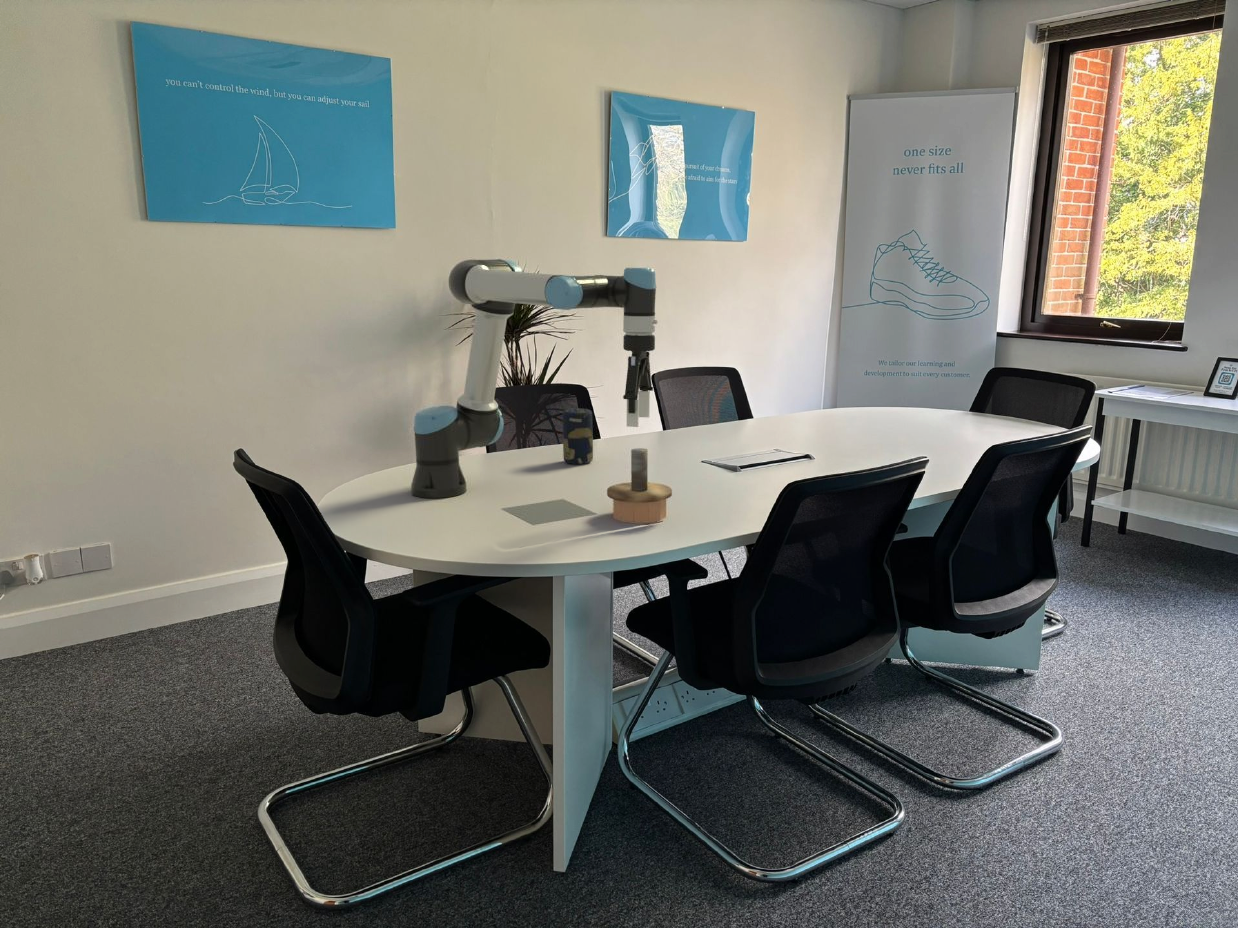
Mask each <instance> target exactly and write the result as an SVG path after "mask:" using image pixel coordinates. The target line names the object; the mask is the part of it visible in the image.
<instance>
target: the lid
mask: <svg viewBox="0 0 1238 928" xmlns="http://www.w3.org/2000/svg"><path fill="white" fill-rule="evenodd" d="M630 451H631V452H630V455H631V456H630V459H631V460H630V461H631V462H630V468H631V469H630V470H631V471H630V474H631V475H630V477H631V479H630V480H631V481H630V482H624V483H623V482H622V483H617V484H614V485H611V486H608V487H607V489H606V495H607V497H608V498H609V499H611V500H613V499H614V500H618V501H624V502H638V503H642V502H655V501H661V500H665V499H666V500H667V499H669V498H671V497H672V496H673V488H671V487H670V486H669V485H666V484H661V483H657V482H648V480H649V479H648V475H649V474H648V470H649V469H648V468H649V467H648V464H649V462H648V461H649V460H648V455H649V454H648V448H643V447H642V448H640V447H639V448H638V447H637V448H632V449H631V450H630Z"/></svg>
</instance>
